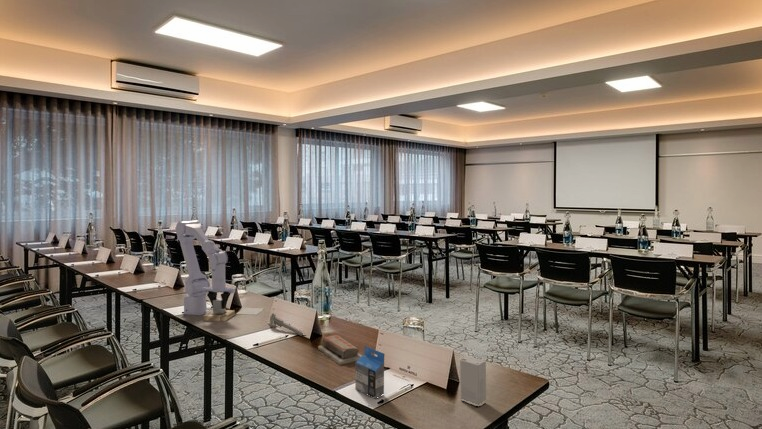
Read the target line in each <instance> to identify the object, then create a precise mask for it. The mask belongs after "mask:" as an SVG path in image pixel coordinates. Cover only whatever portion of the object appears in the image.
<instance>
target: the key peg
mask: <svg viewBox="0 0 762 429" xmlns="http://www.w3.org/2000/svg"><path fill="white" fill-rule="evenodd" d="M226 310H227V307H226V308H225V309H222V298H221V297H217V298H216V299H214V300H213V307H212V311H213V315H223V314H225V313H226Z"/></svg>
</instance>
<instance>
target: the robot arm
mask: <svg viewBox="0 0 762 429" xmlns="http://www.w3.org/2000/svg"><path fill="white" fill-rule="evenodd" d="M202 229H203V226H202V223H201V222H200V221H199V220H198V219H196V220H186V221H185V220H184V221H181V220H180V221H178V222H177V223H176V225H175V232H176V236H177V240H178V241H179V242H180V247H181V251H182V256H183V258H184V261H185V262H184V263H185V266H186V269H187V273H188V277H186V279H185V280H184V284H185V285H184V287H185V288H184V290H185V293H186V295H185V296H184V298H183V315H196V316H200V315H201V316H202V315H203V316H204V314H205V315H206V314H207V313H209V312H211V309H207V308H208V307H207V298H208V299H209V301H210V304H211V307H212V308H213V300H214V299H216V298H218V293H221V294H220V298H222V309H225V308H226V309H227V304H228V300H229V298H230V296H231V294H235V293H236V287H228V286H226V283H227V282H226V264H227V263H228V260H229V257H228V254H227V251H225V250H222V249H220V248H219V247H218V246H217V245H216V243H215V242H214V241H213V240H209V238H208V237H207V235H206V234H205V232H204V230H202ZM195 239H196V241H197V242H199V243H200V244H201V250H202V251H203V252H204V253H205V255H206V256H207V257H208V263H209V265H210V269H211V283H210V280H209V279H208V277H207V275H205V274H204V273H203V272H202V271H201V269H200V265H199V261H198V257H197V253H196V250H195V247H194V243H193V241H194V240H195ZM211 285H212V286H211Z"/></svg>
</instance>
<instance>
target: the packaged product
mask: <svg viewBox="0 0 762 429" xmlns="http://www.w3.org/2000/svg"><path fill="white" fill-rule="evenodd" d="M321 342H322V343H321V345H320V344H319V345H318V346H317V348H318V350H320V352H322V353H323V354H324V355H325V356H326V357H327V358H329V359H330V360H331V361H334V362H335V363H336V364H338V365H339V366H340V365H345V364H350V363H354V362H356V361H357V360H358V359H359V358H360V357H361V356H362V355H363V354H361V353H359V351H360V350H359V348H358V347H356V346H354V345H353V344H351V343H350V342H349V341H347V340H346V339H344V338H343V337H341V336H340V335H337V334H333V335H328V336H324V337H322V340H321Z"/></svg>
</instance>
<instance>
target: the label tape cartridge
mask: <svg viewBox="0 0 762 429" xmlns="http://www.w3.org/2000/svg"><path fill="white" fill-rule="evenodd" d="M373 354H374V355H373ZM361 355H362V356H361V357H360V358H359V359H358V360H357V361H355V363H354V364H355V368H354V369H355V382H354V383H355V384H354V385H355V388H354V389H355V390H357V391H358V392H361V393H362V394H364V393H365V395H366V394H368V395H370V396H372V397H374V398H377V397H379V396H381V395H382V394H384V395H385V353H383V352H380V351H378V350H375V349H374V348H371V347H368V346H366V345H364V350H363V354H361ZM375 355H376V356H375ZM368 395H367V396H368ZM370 396H369V397H370ZM372 397H371V398H372ZM381 397H382V396H381ZM374 398H373V399H374ZM379 398H380V397H379ZM377 399H378V398H377Z"/></svg>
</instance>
